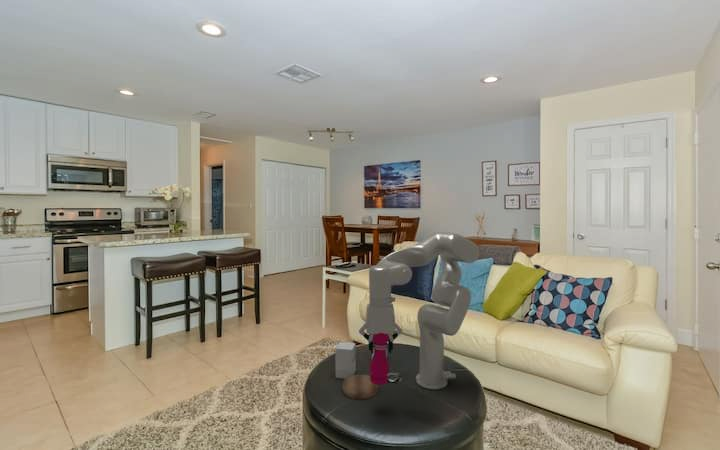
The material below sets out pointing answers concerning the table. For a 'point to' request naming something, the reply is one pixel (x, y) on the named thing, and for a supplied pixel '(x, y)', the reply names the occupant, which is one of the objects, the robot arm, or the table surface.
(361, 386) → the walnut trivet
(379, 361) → the pepper mill
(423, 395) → the table surface
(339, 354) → the supplement box
